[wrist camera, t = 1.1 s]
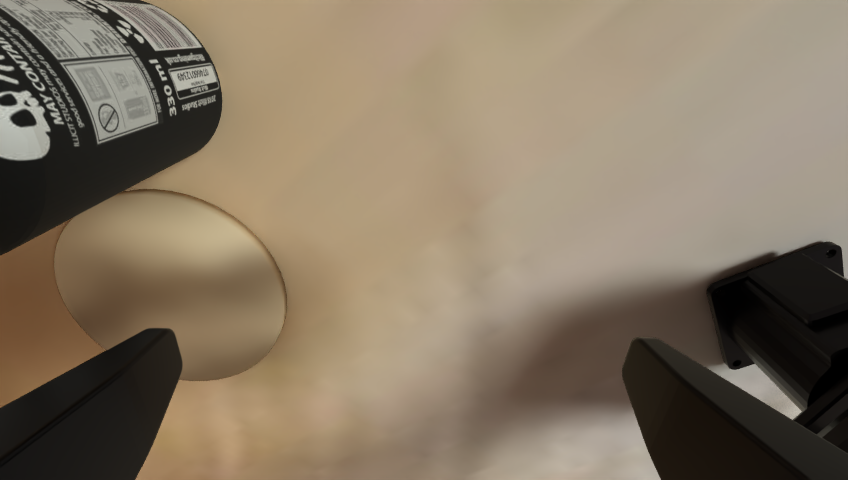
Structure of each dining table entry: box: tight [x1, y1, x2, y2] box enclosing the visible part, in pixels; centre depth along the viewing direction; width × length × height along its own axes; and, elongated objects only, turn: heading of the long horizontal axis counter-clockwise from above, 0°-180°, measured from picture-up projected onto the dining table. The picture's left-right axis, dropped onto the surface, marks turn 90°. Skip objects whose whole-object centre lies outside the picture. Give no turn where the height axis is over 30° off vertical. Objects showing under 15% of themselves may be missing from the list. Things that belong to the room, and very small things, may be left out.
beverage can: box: [0, 0, 222, 255], centre depth 14 cm, size 7×7×12 cm
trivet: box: [54, 189, 287, 381], centre depth 23 cm, size 12×12×1 cm
